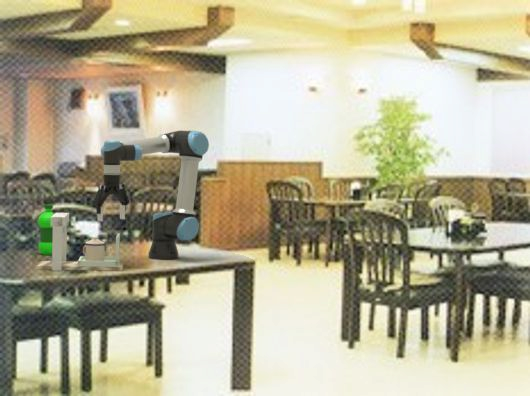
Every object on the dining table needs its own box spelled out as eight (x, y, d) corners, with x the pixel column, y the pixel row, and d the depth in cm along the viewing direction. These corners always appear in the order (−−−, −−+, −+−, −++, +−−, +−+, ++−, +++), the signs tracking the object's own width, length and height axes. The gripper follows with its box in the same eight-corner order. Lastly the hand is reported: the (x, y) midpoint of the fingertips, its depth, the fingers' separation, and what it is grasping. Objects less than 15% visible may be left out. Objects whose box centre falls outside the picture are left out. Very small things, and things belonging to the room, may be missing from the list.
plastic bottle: (61, 255, 475) (62, 205, 473) (41, 255, 469) (42, 205, 467) (54, 252, 483) (54, 203, 481) (34, 253, 477) (34, 204, 475)
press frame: (68, 263, 446) (69, 212, 444) (63, 270, 422) (64, 217, 420) (55, 263, 445) (56, 212, 443) (49, 270, 421) (50, 217, 419)
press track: (123, 265, 445) (123, 262, 445) (122, 270, 428) (122, 267, 428) (41, 264, 441) (41, 260, 441) (37, 269, 424) (37, 266, 424)
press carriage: (119, 261, 445) (120, 233, 444) (117, 267, 428) (118, 237, 427) (80, 261, 443) (81, 232, 442) (77, 266, 426) (78, 236, 425)
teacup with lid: (109, 262, 435) (109, 237, 435) (95, 264, 428) (95, 238, 427) (90, 259, 442) (90, 234, 441) (76, 261, 435) (76, 236, 434)
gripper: (126, 173, 445) (125, 217, 447) (85, 174, 426) (85, 221, 428) (137, 173, 440) (136, 218, 442) (96, 175, 421) (96, 222, 423)
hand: (111, 220), depth 435 cm, fingers open, 13 cm apart
